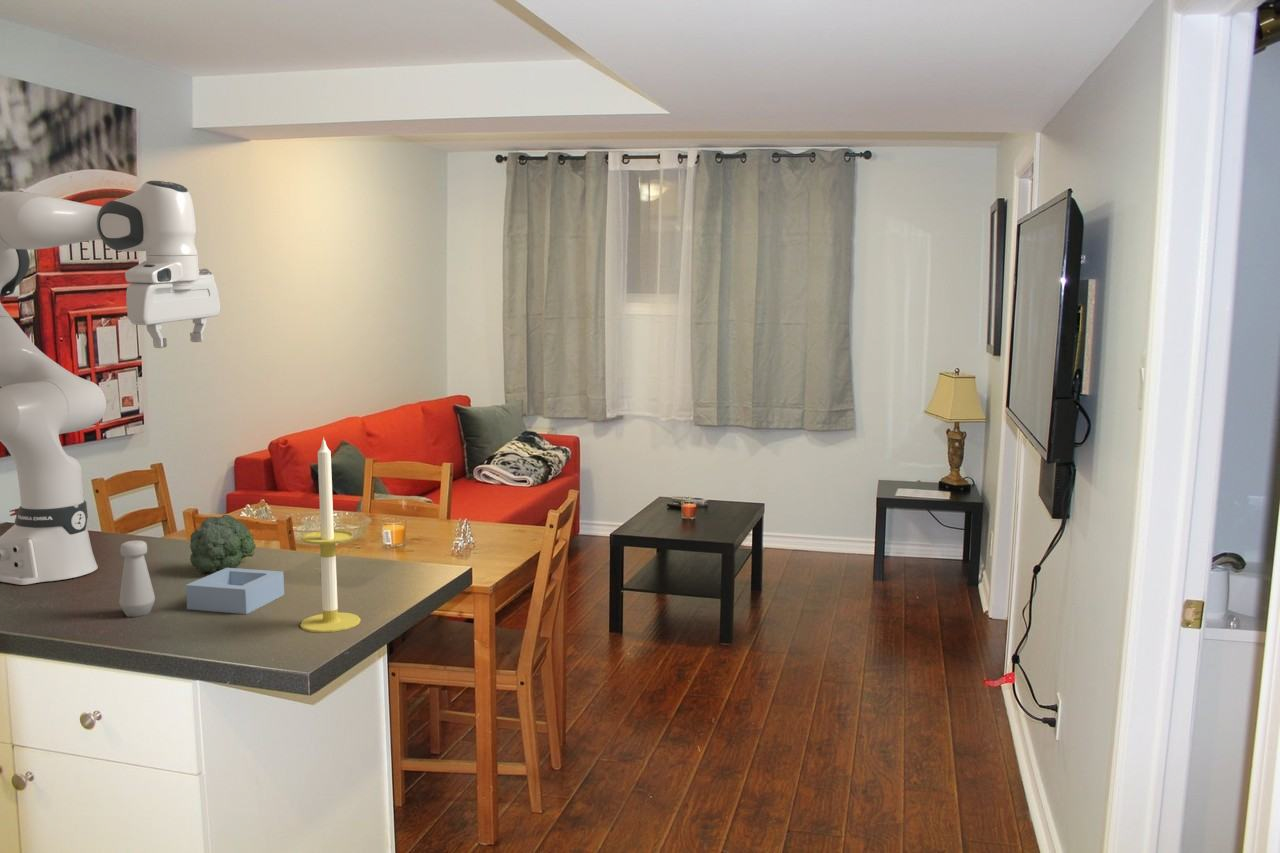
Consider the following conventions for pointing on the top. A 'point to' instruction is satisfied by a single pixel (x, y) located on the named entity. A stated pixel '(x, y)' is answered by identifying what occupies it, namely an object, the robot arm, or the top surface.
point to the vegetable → (220, 544)
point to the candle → (327, 555)
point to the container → (235, 590)
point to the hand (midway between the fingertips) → (179, 344)
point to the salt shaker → (135, 580)
